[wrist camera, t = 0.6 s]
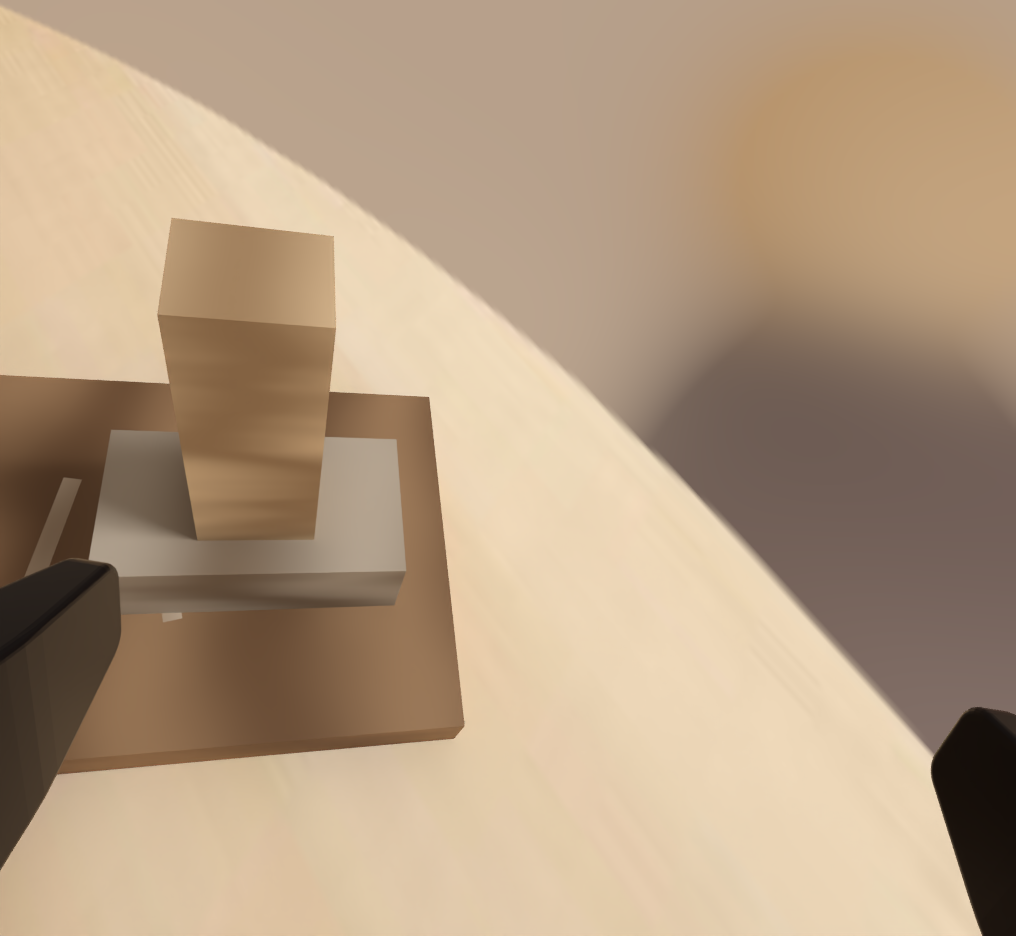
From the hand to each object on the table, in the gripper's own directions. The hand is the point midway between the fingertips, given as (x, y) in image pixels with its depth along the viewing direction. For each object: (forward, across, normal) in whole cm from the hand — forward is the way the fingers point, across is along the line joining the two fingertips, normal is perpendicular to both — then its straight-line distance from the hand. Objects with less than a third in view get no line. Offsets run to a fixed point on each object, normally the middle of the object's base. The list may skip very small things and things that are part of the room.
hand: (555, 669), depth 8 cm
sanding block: (+13, +7, +8) cm, 17 cm away
